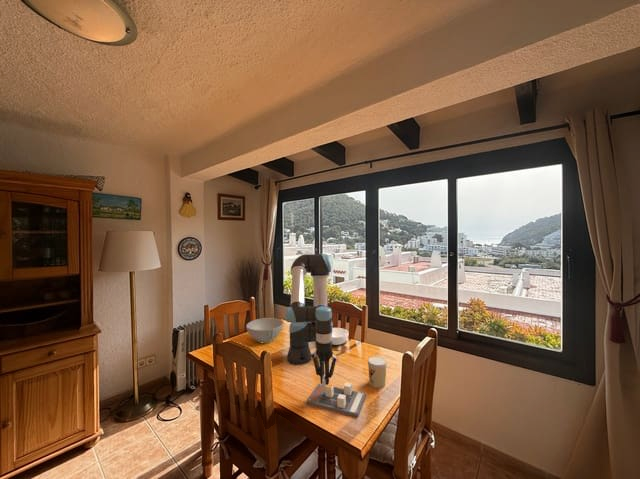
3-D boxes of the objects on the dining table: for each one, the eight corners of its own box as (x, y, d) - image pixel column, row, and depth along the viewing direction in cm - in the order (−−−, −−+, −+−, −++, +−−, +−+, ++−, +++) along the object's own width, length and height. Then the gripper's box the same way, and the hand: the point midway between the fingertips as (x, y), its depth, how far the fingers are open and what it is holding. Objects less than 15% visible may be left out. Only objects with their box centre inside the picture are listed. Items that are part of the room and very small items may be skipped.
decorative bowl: (280, 347, 179) (280, 330, 178) (241, 348, 179) (241, 330, 179) (286, 332, 205) (285, 317, 205) (252, 333, 206) (251, 318, 206)
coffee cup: (366, 379, 138) (365, 357, 137) (383, 378, 139) (383, 355, 138) (371, 390, 128) (370, 365, 128) (389, 388, 129) (389, 364, 129)
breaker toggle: (325, 396, 121) (325, 387, 121) (327, 392, 124) (327, 383, 124) (331, 397, 120) (331, 388, 120) (333, 394, 123) (333, 385, 123)
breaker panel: (306, 404, 119) (306, 392, 119) (319, 386, 132) (319, 375, 132) (358, 417, 109) (357, 404, 109) (366, 396, 123) (365, 385, 123)
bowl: (353, 340, 188) (352, 330, 188) (341, 350, 173) (341, 339, 173) (331, 335, 198) (331, 326, 198) (318, 344, 183) (317, 334, 183)
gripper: (308, 341, 122) (309, 391, 122) (334, 346, 116) (335, 398, 117) (314, 335, 129) (315, 383, 129) (339, 339, 123) (340, 389, 124)
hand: (324, 390), depth 123 cm, fingers closed
